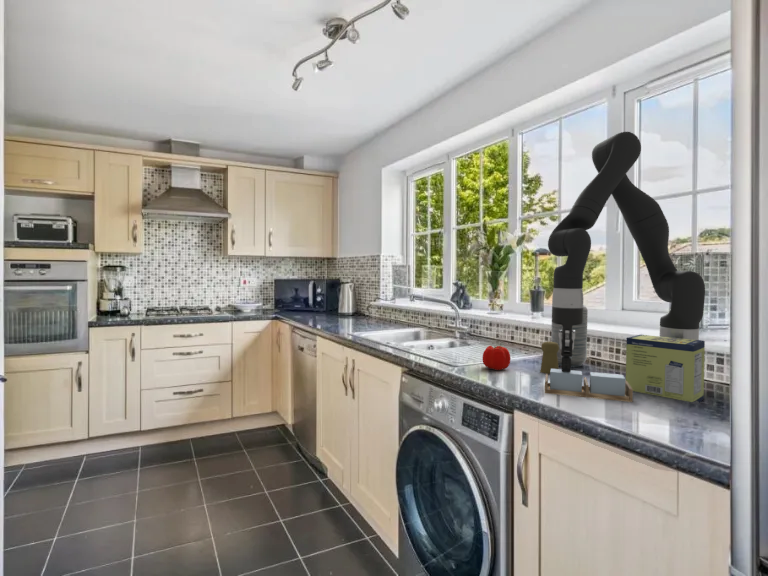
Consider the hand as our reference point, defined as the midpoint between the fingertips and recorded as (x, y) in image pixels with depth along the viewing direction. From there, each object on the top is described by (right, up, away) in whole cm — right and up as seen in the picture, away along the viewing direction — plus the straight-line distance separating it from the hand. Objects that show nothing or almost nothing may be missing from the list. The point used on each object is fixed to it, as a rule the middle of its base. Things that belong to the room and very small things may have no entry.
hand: (565, 371), depth 113 cm
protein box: (+25, -7, 0) cm, 26 cm away
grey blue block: (0, -5, 0) cm, 5 cm away
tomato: (-10, -6, +33) cm, 35 cm away
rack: (+5, -7, -2) cm, 8 cm away
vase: (+18, -6, +40) cm, 45 cm away
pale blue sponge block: (+9, -5, -3) cm, 11 cm away
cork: (+4, -6, +22) cm, 23 cm away
